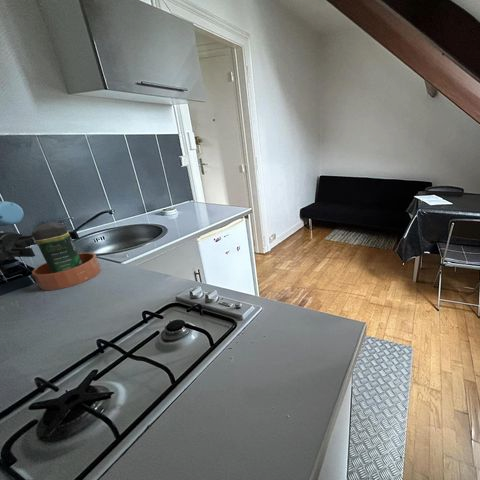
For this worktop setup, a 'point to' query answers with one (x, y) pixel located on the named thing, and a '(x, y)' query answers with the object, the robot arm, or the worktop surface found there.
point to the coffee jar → (56, 246)
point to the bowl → (67, 273)
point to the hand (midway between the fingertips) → (56, 243)
